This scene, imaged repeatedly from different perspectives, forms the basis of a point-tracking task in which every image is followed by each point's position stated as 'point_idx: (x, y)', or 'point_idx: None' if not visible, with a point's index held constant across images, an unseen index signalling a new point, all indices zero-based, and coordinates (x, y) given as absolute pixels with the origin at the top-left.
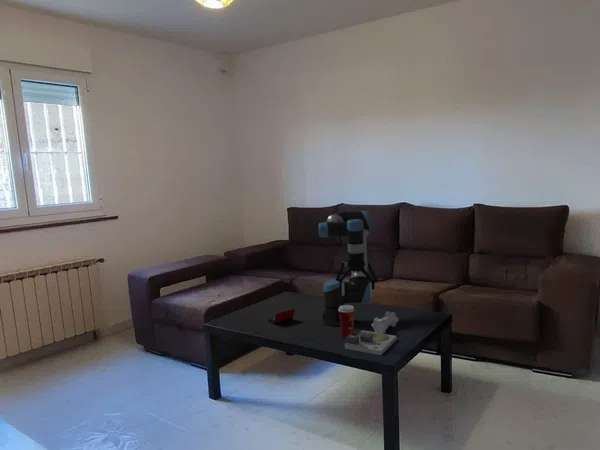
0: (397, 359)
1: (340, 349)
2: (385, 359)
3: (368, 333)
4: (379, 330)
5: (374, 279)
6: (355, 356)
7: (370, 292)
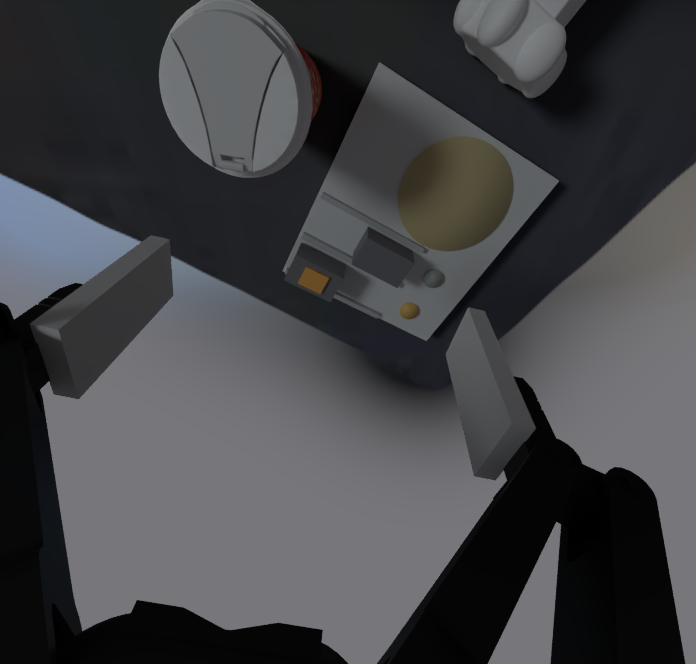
0: None
1: (268, 269)
2: (432, 359)
3: (410, 128)
4: (492, 69)
5: (560, 545)
6: (329, 331)
7: (456, 384)
